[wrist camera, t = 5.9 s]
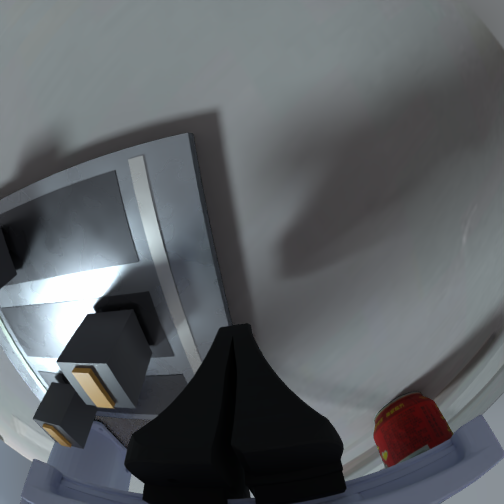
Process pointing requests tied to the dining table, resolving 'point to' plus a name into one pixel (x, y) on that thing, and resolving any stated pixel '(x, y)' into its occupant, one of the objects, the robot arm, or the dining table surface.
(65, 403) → the block
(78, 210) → the panel
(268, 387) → the robot arm
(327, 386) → the dining table surface
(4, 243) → the breaker
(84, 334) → the breaker
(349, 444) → the dining table surface
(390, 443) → the soda can
